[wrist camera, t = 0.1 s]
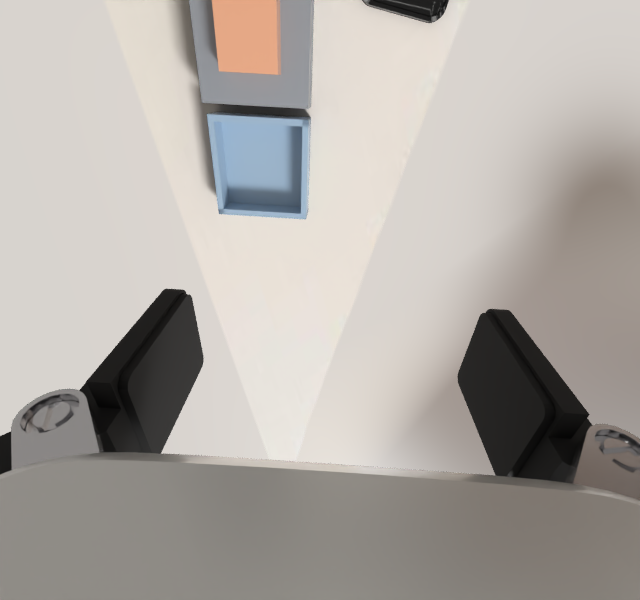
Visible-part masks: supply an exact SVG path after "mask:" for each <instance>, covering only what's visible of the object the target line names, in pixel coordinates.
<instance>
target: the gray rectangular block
mask: <svg viewBox="0 0 640 600" xmlns="http://www.w3.org/2000/svg"><path fill="white" fill-rule="evenodd" d="M189 5H190V13H191V21H192V29H193V37H194V45H195V53H196V60H197V68H198V76H199V84H200V92H201V100H202V103H214V104H231V105H249V106H266V107H284V108H301V109H309V108H310V107H311V89H312V53H313V18H314V0H280V32H281V75H269V74H252V73H234V72H221V71H219V68H218V58H217V47H216V37H215V27H214V17H213V7H212V0H189Z"/></svg>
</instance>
